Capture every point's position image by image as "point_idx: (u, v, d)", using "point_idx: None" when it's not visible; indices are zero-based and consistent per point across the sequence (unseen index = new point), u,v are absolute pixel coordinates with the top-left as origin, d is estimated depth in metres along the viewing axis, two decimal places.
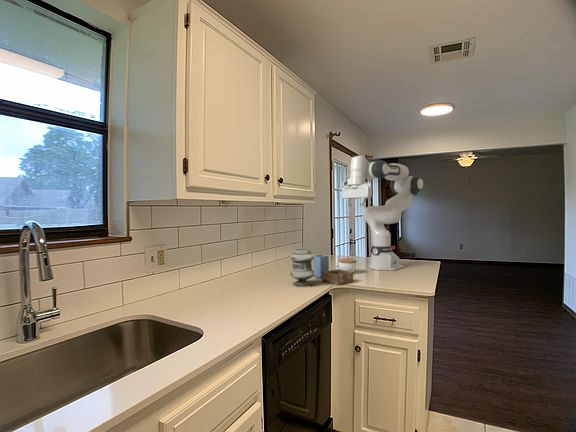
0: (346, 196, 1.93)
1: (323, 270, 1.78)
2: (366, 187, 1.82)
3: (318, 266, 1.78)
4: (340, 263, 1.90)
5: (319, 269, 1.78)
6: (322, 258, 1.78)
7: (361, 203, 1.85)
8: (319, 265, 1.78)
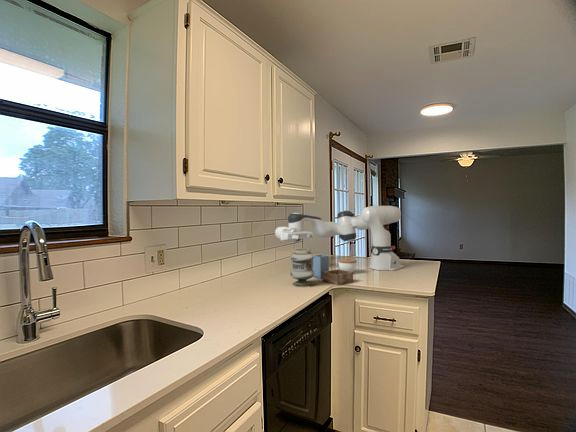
0: (291, 233, 1.94)
1: (323, 270, 1.78)
2: (306, 231, 2.06)
3: (318, 266, 1.78)
4: (340, 263, 1.90)
5: (319, 269, 1.78)
6: (322, 258, 1.78)
7: (310, 234, 1.96)
8: (319, 265, 1.78)
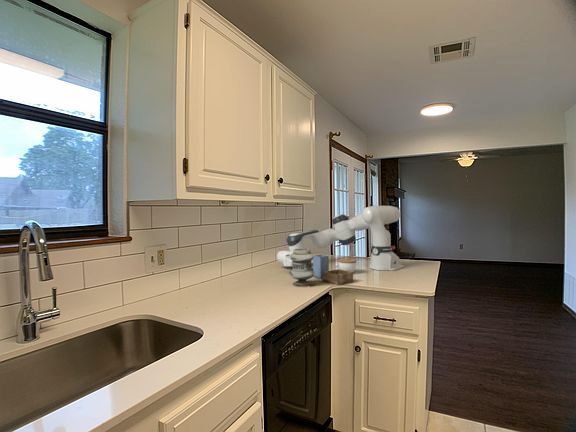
0: None
1: (323, 270, 1.78)
2: None
3: (318, 266, 1.78)
4: (340, 263, 1.90)
5: (319, 269, 1.78)
6: (322, 258, 1.78)
7: None
8: (319, 265, 1.78)
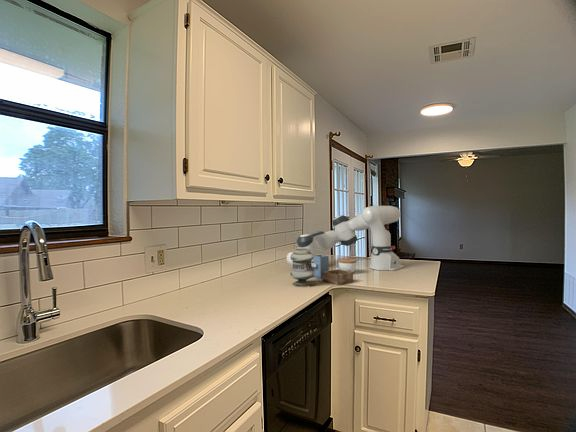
0: None
1: (323, 270, 1.78)
2: None
3: (318, 266, 1.78)
4: (340, 263, 1.90)
5: (319, 269, 1.78)
6: (322, 258, 1.78)
7: None
8: (319, 265, 1.78)
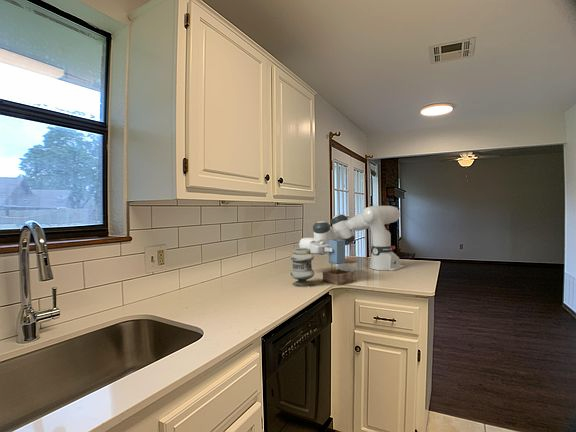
0: (322, 245, 1.71)
1: (340, 255, 1.68)
2: None
3: (335, 251, 1.68)
4: None
5: (335, 254, 1.67)
6: (339, 242, 1.67)
7: None
8: (335, 249, 1.67)
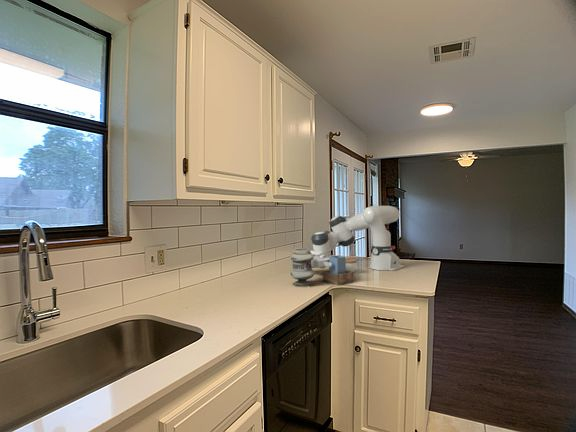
0: (322, 259, 1.71)
1: (340, 272, 1.68)
2: None
3: (335, 268, 1.68)
4: None
5: (336, 271, 1.67)
6: (339, 259, 1.67)
7: None
8: (336, 267, 1.67)
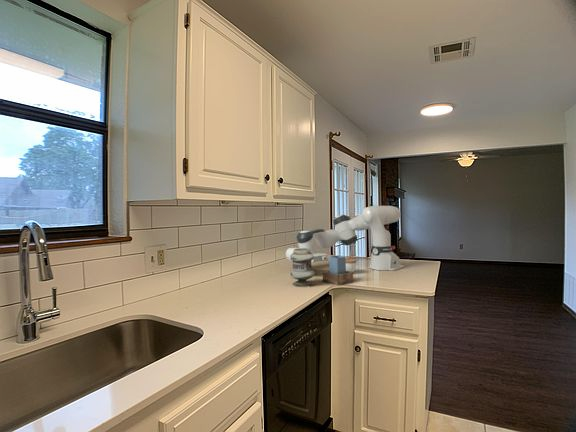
0: None
1: (340, 272, 1.68)
2: (320, 253, 1.94)
3: (335, 268, 1.68)
4: None
5: (336, 271, 1.67)
6: (339, 259, 1.67)
7: (325, 257, 1.85)
8: (336, 267, 1.67)
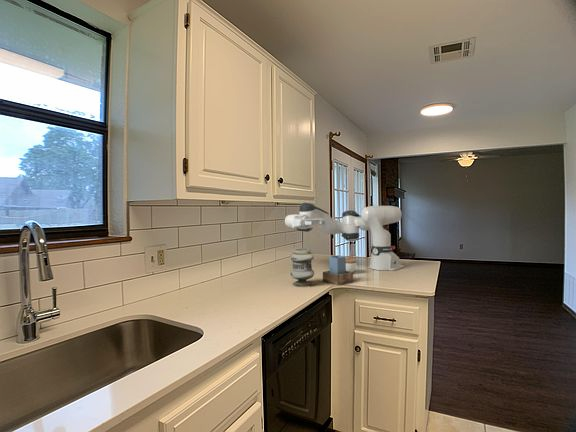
0: (304, 219, 1.89)
1: (340, 272, 1.68)
2: (317, 218, 2.01)
3: (335, 268, 1.68)
4: None
5: (336, 271, 1.67)
6: (339, 259, 1.67)
7: (323, 220, 1.92)
8: (336, 267, 1.67)
